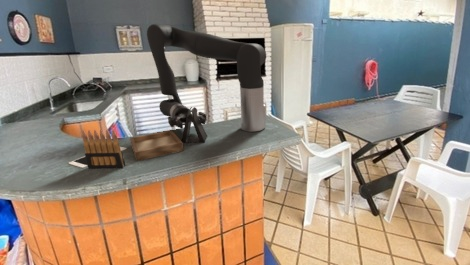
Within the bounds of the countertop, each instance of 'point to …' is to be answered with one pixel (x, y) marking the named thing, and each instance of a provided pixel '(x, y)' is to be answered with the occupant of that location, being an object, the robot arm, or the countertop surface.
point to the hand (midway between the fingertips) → (193, 123)
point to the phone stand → (198, 127)
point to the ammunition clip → (103, 151)
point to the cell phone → (84, 161)
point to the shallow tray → (155, 145)
